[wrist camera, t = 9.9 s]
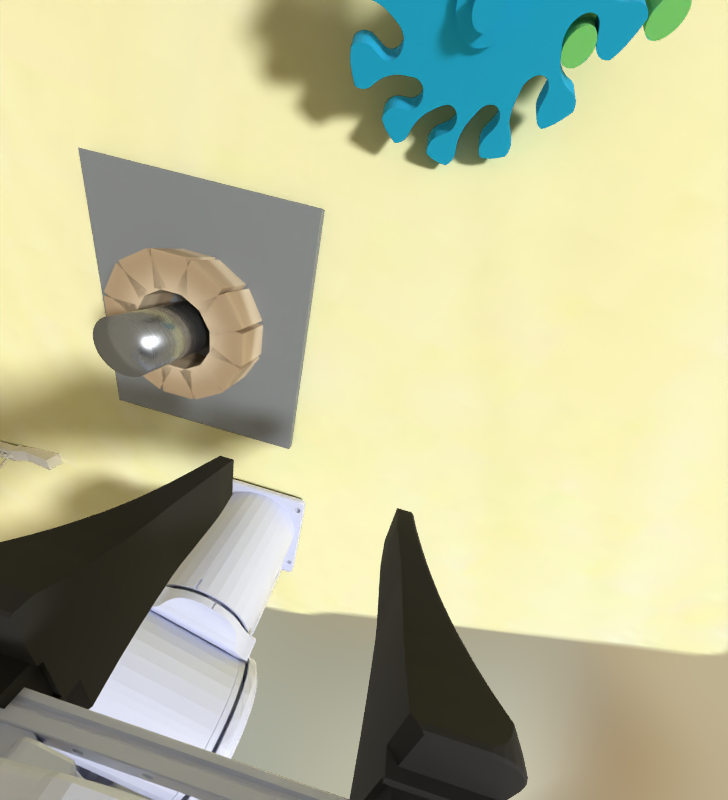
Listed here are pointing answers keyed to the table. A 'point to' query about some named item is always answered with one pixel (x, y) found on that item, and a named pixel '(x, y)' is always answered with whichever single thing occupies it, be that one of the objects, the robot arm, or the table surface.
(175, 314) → the peg
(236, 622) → the robot arm
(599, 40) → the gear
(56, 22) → the table surface
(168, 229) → the mat
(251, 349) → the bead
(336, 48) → the table surface
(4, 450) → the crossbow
